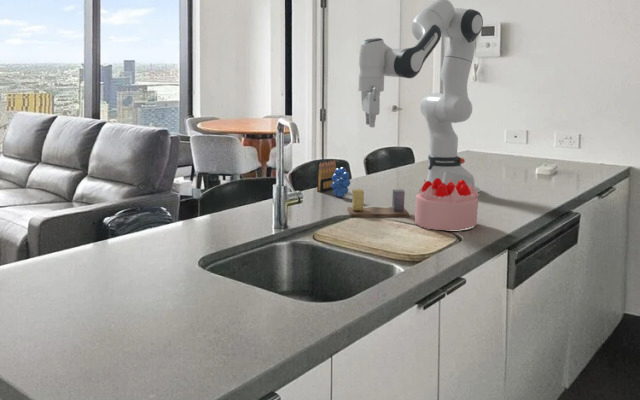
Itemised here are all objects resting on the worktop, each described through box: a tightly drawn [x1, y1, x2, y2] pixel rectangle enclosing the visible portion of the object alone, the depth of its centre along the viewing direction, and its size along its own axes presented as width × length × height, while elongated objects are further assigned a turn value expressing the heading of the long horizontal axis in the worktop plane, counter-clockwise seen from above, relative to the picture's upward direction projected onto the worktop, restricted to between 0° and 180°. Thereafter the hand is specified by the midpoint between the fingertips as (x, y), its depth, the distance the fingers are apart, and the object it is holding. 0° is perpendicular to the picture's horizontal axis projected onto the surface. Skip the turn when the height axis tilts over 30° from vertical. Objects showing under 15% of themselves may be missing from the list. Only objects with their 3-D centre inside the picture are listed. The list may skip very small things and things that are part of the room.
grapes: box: [331, 166, 351, 199], centre depth 249 cm, size 12×7×12 cm, turn 31°
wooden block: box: [351, 188, 365, 210], centre depth 223 cm, size 4×4×7 cm
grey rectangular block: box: [391, 189, 406, 212], centre depth 224 cm, size 4×4×7 cm
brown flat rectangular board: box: [347, 206, 410, 218], centre depth 224 cm, size 20×11×1 cm, turn 93°
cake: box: [414, 178, 480, 231], centre depth 209 cm, size 20×20×14 cm
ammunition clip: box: [316, 159, 337, 193], centre depth 263 cm, size 11×2×12 cm, turn 140°
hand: (370, 125), depth 229 cm, fingers open, 8 cm apart
